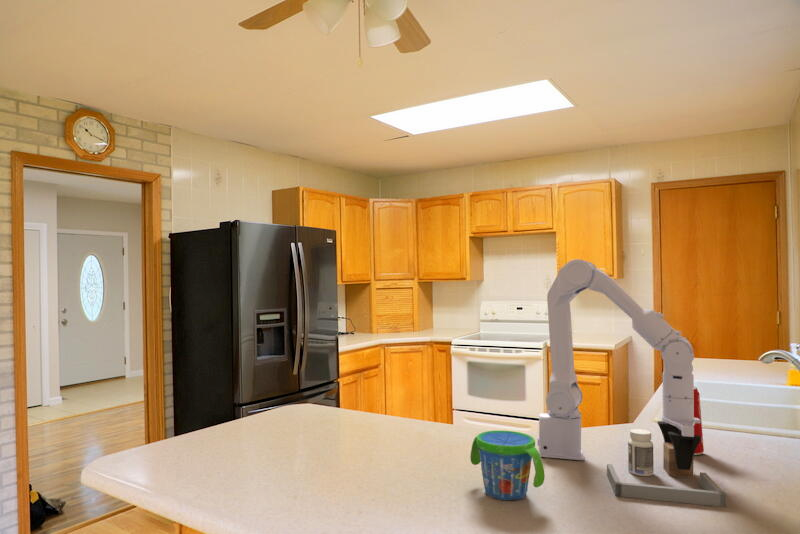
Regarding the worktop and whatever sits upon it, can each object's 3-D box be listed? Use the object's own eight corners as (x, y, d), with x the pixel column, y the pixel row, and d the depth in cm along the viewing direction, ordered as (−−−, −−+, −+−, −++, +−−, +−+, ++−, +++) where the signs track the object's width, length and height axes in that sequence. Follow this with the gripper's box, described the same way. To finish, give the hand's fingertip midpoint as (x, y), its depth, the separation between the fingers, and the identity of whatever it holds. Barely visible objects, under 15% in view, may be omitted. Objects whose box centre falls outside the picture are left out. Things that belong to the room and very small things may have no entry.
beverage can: (707, 457, 120) (707, 390, 120) (676, 454, 121) (676, 388, 122) (698, 449, 126) (698, 385, 126) (668, 447, 127) (668, 383, 127)
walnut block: (668, 476, 107) (668, 448, 108) (663, 468, 112) (663, 442, 112) (693, 478, 106) (693, 450, 107) (686, 470, 111) (686, 444, 111)
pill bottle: (658, 474, 108) (658, 432, 109) (645, 478, 106) (645, 435, 106) (636, 467, 112) (636, 427, 113) (623, 471, 110) (623, 430, 110)
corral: (615, 495, 97) (615, 483, 97) (606, 475, 107) (606, 464, 107) (726, 507, 92) (726, 494, 92) (705, 484, 103) (705, 472, 103)
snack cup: (455, 485, 101) (456, 430, 101) (497, 475, 106) (497, 424, 106) (514, 516, 87) (514, 453, 88) (558, 503, 93) (558, 444, 93)
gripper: (711, 404, 102) (711, 476, 101) (688, 390, 116) (689, 453, 115) (670, 402, 103) (671, 473, 103) (653, 388, 117) (654, 451, 117)
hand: (678, 462), depth 109 cm, fingers open, 7 cm apart
